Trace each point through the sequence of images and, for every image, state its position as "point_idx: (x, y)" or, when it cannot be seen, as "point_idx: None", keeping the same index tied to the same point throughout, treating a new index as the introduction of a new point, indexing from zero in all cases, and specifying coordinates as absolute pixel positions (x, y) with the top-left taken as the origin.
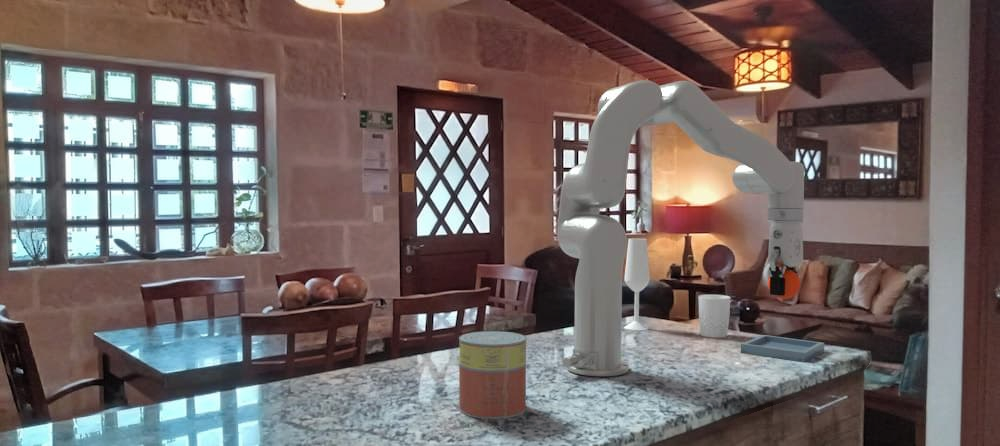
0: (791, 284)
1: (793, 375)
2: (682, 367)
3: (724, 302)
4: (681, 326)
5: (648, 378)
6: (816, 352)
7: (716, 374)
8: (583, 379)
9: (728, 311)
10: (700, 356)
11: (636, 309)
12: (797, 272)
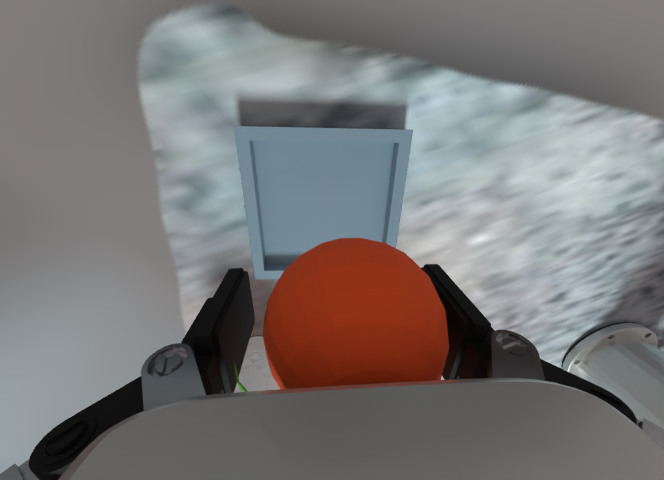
0: (425, 273)
1: (551, 108)
2: (552, 288)
3: None
4: None
5: (639, 292)
6: (310, 127)
7: (587, 231)
8: (660, 340)
9: (246, 383)
10: None
11: None
12: (159, 357)
